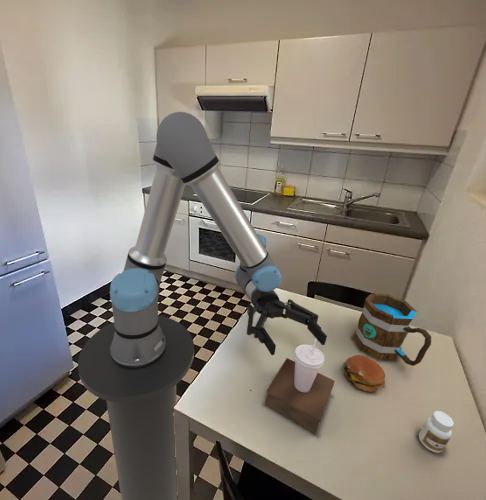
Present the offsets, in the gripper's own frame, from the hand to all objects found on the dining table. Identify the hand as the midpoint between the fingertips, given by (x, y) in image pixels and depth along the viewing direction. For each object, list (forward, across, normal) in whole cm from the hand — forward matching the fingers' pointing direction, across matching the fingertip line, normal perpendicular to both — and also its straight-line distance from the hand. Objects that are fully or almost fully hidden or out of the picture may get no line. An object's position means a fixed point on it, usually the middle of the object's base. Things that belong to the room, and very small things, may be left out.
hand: (300, 345), depth 65 cm
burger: (+2, -21, -14) cm, 26 cm away
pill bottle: (+20, -23, -14) cm, 33 cm away
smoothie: (+3, 0, -9) cm, 10 cm away
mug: (-5, -35, -14) cm, 38 cm away
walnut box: (+3, 0, -14) cm, 15 cm away
